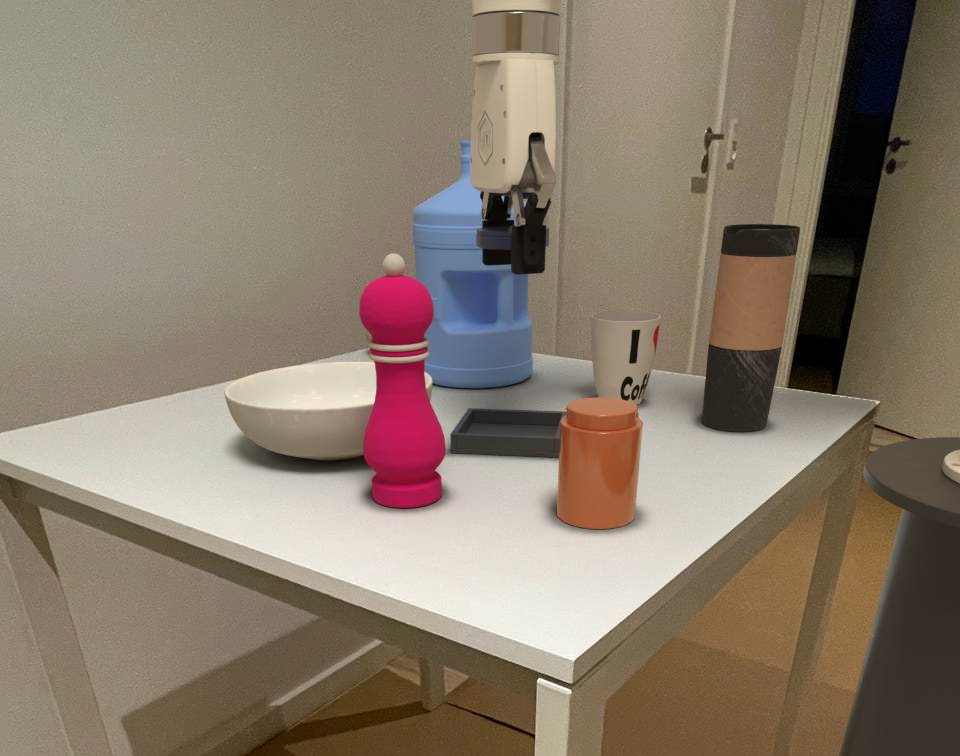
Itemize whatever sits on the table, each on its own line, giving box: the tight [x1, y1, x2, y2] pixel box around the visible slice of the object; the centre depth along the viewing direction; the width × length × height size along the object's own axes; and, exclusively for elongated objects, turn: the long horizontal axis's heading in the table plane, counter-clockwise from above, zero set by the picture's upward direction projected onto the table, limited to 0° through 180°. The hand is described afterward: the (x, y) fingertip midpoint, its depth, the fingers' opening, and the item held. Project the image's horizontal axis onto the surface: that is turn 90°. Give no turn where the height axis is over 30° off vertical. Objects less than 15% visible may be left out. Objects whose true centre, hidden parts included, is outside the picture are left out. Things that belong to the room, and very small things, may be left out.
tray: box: [450, 407, 567, 459], centre depth 90 cm, size 11×10×2 cm
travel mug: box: [701, 223, 801, 433], centre depth 90 cm, size 8×8×20 cm
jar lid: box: [476, 225, 550, 250], centre depth 80 cm, size 7×7×2 cm
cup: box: [590, 310, 662, 406], centre depth 101 cm, size 8×8×10 cm
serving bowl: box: [223, 361, 434, 461], centre depth 87 cm, size 21×21×7 cm
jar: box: [556, 397, 644, 530], centre depth 69 cm, size 7×7×9 cm
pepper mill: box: [358, 253, 447, 509], centre depth 71 cm, size 7×7×20 cm
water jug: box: [412, 140, 534, 389], centre depth 109 cm, size 16×16×28 cm
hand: (512, 267), depth 81 cm, fingers closed on jar lid, 6 cm apart
